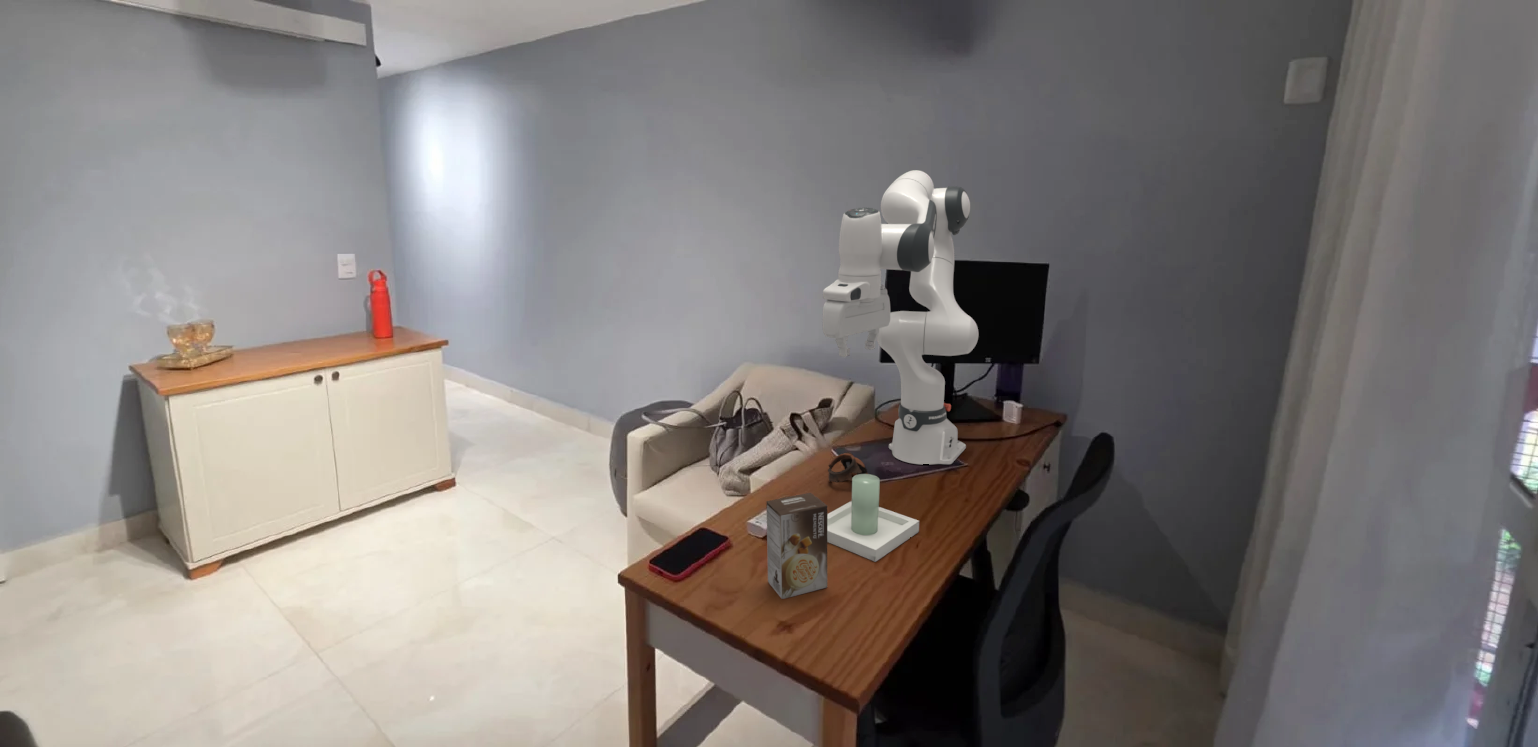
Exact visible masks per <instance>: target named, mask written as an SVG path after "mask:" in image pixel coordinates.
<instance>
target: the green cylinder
mask: <svg viewBox="0 0 1538 747" xmlns="http://www.w3.org/2000/svg"><path fill="white" fill-rule="evenodd" d="M880 484H881V483H880V478H879V477H878V476H877V475H875V474H870V473H868V474H859V475H857V474H856V475H854V476H853V477H852V481H851V501H852V510H851V530H852V531H853V532H854V533H856V534H860V535H872V534H875V533H876V532H877V531H878V514H879V507H880V506H879V505H880Z"/></svg>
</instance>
